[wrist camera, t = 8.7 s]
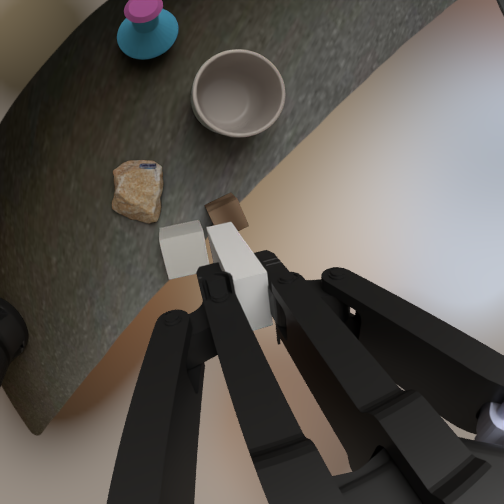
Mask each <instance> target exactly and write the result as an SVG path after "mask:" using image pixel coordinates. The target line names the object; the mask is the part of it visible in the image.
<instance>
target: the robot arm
mask: <svg viewBox="0 0 504 504" xmlns="http://www.w3.org/2000/svg"><path fill="white" fill-rule="evenodd" d="M206 228H207V233H208V238H209V243H210V248H211V253H212V258H213V264H208V265H204V266H200V267H199V268H198V270H197V272H196V274H197V278H198V282H199V286H200V291H201V295H202V298H203V302H202V305H201V306H200V307H199V308H198V309H197V310H196V311H194V312H192V313H190V314H188V313H187V312H185V311H183V310H171V311H168V312H166V313H164V314H162V315H161V316H160V317H159V318H158V319H157V321H156V324H155V327H154V329H153V332H152V335H151V338H150V341H149V344H148V348H147V351H146V354H145V357H144V360H143V363H142V367H141V370H140V373H139V376H138V380H137V383H136V386H135V390H134V393H133V397H132V400H131V404H130V407H129V411H128V414H127V418H126V422H125V426H124V429H123V433H122V437H121V441H120V445H119V449H118V454H117V458H116V462H115V467H114V471H113V475H112V480H111V485H110V489H109V494H108V500H107V504H194V497H195V480H196V463H197V450H198V449H197V448H198V435H199V424H200V412H201V401H202V390H203V379H204V369H205V364H204V362H205V361H207V360H209V359H211V358H213V357H215V356H216V355H218V357H219V360H220V363H221V367H222V371H223V374H224V377H225V380H226V384H227V386H228V390H229V393H230V396H231V399H232V403H233V406H234V409H235V412H236V415H237V418H238V421H239V424H240V427H241V430H242V433H243V436H244V439H245V441H246V444H247V447H248V450H249V453H250V456H251V458H252V461H253V464H254V466H255V469H256V472H257V475H258V477H259V480H260V483H261V485H262V488H263V490H264V493H265V495H266V498H267V500H268V503H269V504H504V355H502V354H500V353H498V352H496V351H495V350H493V349H491V348H490V347H488V346H486V345H484V344H483V343H481V342H479V341H478V340H476V339H474V338H472V337H470V336H469V335H467V334H465V333H464V332H462V331H460V330H458V329H457V328H455V327H453V326H451V325H449V324H448V323H446V322H444V321H442V320H441V319H438V318H437V317H435V316H433V315H432V314H430V313H428V312H426V311H424V310H422V309H421V308H419V307H417V306H415V305H413V304H411V303H409V302H408V301H406V300H404V299H402V298H400V297H399V296H397V295H395V294H393V293H391V292H389V291H387V290H385V289H383V288H382V287H380V286H378V285H376V284H374V283H372V282H370V281H368V280H367V279H365V278H363V277H361V276H359V275H357V274H355V273H353V272H351V271H349V270H347V269H344V268H339V267H335V268H334V267H333V268H330V269H326V270H325V271H324V272H323V273H322V277H321V278H322V279H321V280H305V279H304V278H303V277H302V276H301V275H299V274H298V273H295V272H289V271H288V269H287V268H286V267H285V266H284V265H283V263H282V262H280V260H279V259H278V258H277V257H276V255H275V254H274V253H272V252H270V251H267V250H264V251H260V252H256V253H253V252H252V250H251V249H250V248H249V246H248V245H247V243H246V242H245V240H244V239H243V238H242V236H241V235H240V234H239V232H238V231H237V229H236V228H235V226H234V225H233V224H232V222H228V223H223V224H219V225H214V226H210V227H206ZM350 307H351V308H353V309H354V310H356V313H355V315H354V314H352V313H350ZM272 317H273V318H274V320H275V323H276V332H277V342H278V344H280V339H281V340H282V342H283V344H284V345H285V347H286V349H287V351H288V352H289V354H290V356H291V358H292V360H293V361H294V363H295V365H296V366H297V368H298V370H299V372H300V373H301V375H302V377H303V379H304V380H305V382H306V384H307V386H308V387H309V389H310V391H311V393H312V394H313V396H314V398H315V399H316V401H317V403H318V405H319V406H320V408H321V410H322V411H323V413H324V415H325V417H326V418H327V420H328V422H329V423H330V425H331V427H332V428H333V430H334V432H335V434H336V435H337V437H338V439H339V440H340V442H341V444H342V445H343V447H344V449H345V450H346V452H347V455H348V460H349V464H350V467H351V469H352V472H350V473H346V474H341V475H336V476H332V475H331V473H330V472H329V470H328V468H327V466H326V464H325V463H324V461H323V459H322V457H321V455H320V453H319V451H318V449H317V448H316V446H315V445H314V443H313V442H312V441H311V440H310V439H308V438H306V437H305V436H304V434H303V433H302V430H301V429H300V426H299V425H298V423H297V421H296V419H295V417H294V415H293V413H292V411H291V409H290V407H289V405H288V403H287V401H286V399H285V397H284V395H283V393H282V391H281V389H280V386H279V384H278V382H277V381H276V378H275V376H274V374H273V372H272V370H271V368H270V366H269V364H268V362H267V360H266V358H265V356H264V354H263V351H262V349H261V347H260V345H259V343H258V341H257V339H256V337H255V334H254V332H253V331H254V330H257V329H261V328H264V327H268V326H271V325H273V323H272ZM27 342H28V330H27V327H26V324H25V322H24V320H23V318H22V317H21V315H20V314H19V313H18V311H17V310H16V309H15V308H14V307H13V306H12V305H11V304H9V303H8V302H7V301H5V300H3V299H1V298H0V387H1V384H2V381H3V379H4V376H5V374H6V371H7V369H8V366H9V364H10V362H11V361H13V360H14V359H15V358H16V357H17V356H18V355H19V354H21V353H22V352H23V350H24V348H25V346H26V344H27ZM397 385H399V386H400V387H401V388H403V389H404V390H405V391H403V390H401V389H400V388H399V387H398V386H397ZM441 417H443V418H444V419H446V420H447V421H449V422H450V423H452V424H454V425H455V426H457V427H459V428H461V429H463V430H465V431H467V432H470V433H474V434H477V435H476V437H475V440H470V439H465V438H460V437H458V436H457V435H456V434H455V433H454V432H453V430H452V429H451V428H450V427H449V426H448V425H447V423H446V422H445V421H444V420H443V419H442V418H441Z"/></svg>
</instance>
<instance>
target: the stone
mask: <svg viewBox="0 0 504 504" xmlns="http://www.w3.org/2000/svg"><path fill="white" fill-rule="evenodd" d="M113 175H114V185H115V193H114V199H113V200H112V209H113V210H115V211H116V212H117V213H119V214H123V216H125V217H128V218H129V219H131V220H139V221H141V222H145V223H148V224H149V223H151V222H156V221H157V220H158V218H159V214H160V211H161V201H160V196H161V193H162V190H163V189H162V188H163V173H162V167H161V166H160V165H159V164H157V163H156V162H154V161H146V160H138V161H127V162H125V163H123V164H122V165H119V167H118V168H116V169H114V170H113Z"/></svg>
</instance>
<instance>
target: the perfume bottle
mask: <svg viewBox="0 0 504 504" xmlns="http://www.w3.org/2000/svg"><path fill="white" fill-rule="evenodd" d="M162 8H163V2H162V0H129V1H128V3H127V4H126V6H125V9H124V14H125V16H126V19H125V20H124V21H123V23H122V24H121V26H120V28H119V30H118V34H117V41H118V45H119V47H120V48H121V50H122V51H123V52H124V53H125V54H127V55H128V56H130V57H132V58H135V59H142V60H144V59H151V58H155V57H157V56H159V55H161V54H163V53H165V52H166V51H167V50H168V49H169V48H170V47H171V46H172V45H173V43H174V41H175V40H176V38H177V34H178V23H177V21H176V19H175V17H174V16H173V15H172V14H171V13H170V12H168V11H166V10H164V9H162Z"/></svg>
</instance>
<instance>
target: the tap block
mask: <svg viewBox="0 0 504 504" xmlns="http://www.w3.org/2000/svg"><path fill="white" fill-rule="evenodd" d="M159 242H160V246H161V250H162V254H163V258H164V262H165V266H166V270H167V274H168V277H169V280H170V279H174V278H179V277H184V276H188V275H193V274H196V272H197V270H198V268H199V267H200V266H204V265H208V264H209V260H208V255H207V250H206V244H205V239H204V233H203V229H202V227H201V224H200V221H199V220H196V221H191V222H186V223H182V224H177V225H172V226H168V227H163V228H160V231H159Z"/></svg>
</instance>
